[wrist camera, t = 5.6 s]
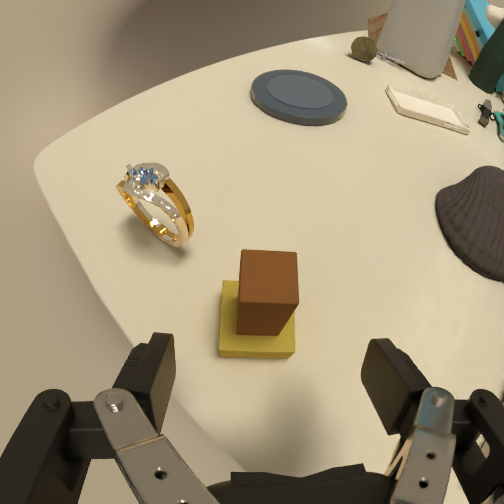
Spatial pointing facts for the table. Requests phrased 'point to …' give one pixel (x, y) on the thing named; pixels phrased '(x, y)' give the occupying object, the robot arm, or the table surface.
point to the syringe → (390, 58)
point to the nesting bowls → (475, 33)
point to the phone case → (426, 109)
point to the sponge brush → (260, 306)
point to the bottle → (490, 62)
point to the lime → (364, 48)
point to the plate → (298, 97)
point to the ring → (157, 201)
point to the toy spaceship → (500, 120)
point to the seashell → (476, 220)
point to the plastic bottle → (421, 33)
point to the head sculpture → (494, 15)
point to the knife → (486, 112)
